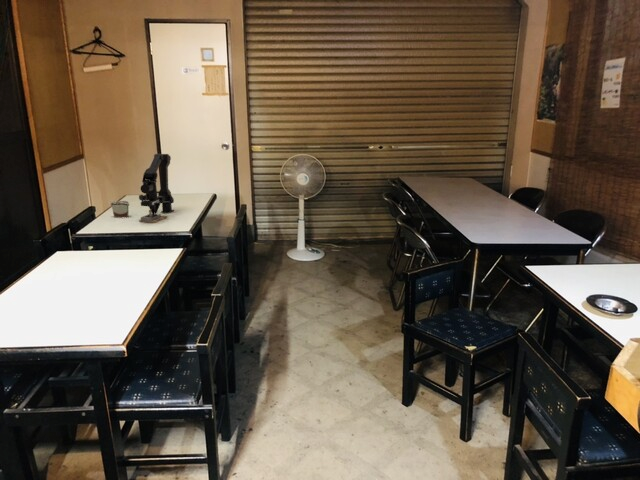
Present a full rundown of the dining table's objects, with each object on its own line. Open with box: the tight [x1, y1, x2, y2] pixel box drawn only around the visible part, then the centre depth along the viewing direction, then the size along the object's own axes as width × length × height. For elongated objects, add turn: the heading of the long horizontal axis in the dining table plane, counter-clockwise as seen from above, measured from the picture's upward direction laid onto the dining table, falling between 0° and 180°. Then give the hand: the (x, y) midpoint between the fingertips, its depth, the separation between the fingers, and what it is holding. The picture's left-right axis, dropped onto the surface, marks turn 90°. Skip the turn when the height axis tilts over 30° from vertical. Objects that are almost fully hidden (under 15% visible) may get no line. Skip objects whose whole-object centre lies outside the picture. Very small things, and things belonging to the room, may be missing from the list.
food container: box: [110, 200, 130, 218], centre depth 332 cm, size 12×6×10 cm, turn 84°
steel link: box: [140, 213, 162, 221], centre depth 321 cm, size 10×8×2 cm
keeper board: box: [138, 209, 167, 224], centre depth 322 cm, size 14×11×7 cm
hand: (154, 213), depth 324 cm, fingers open, 2 cm apart
